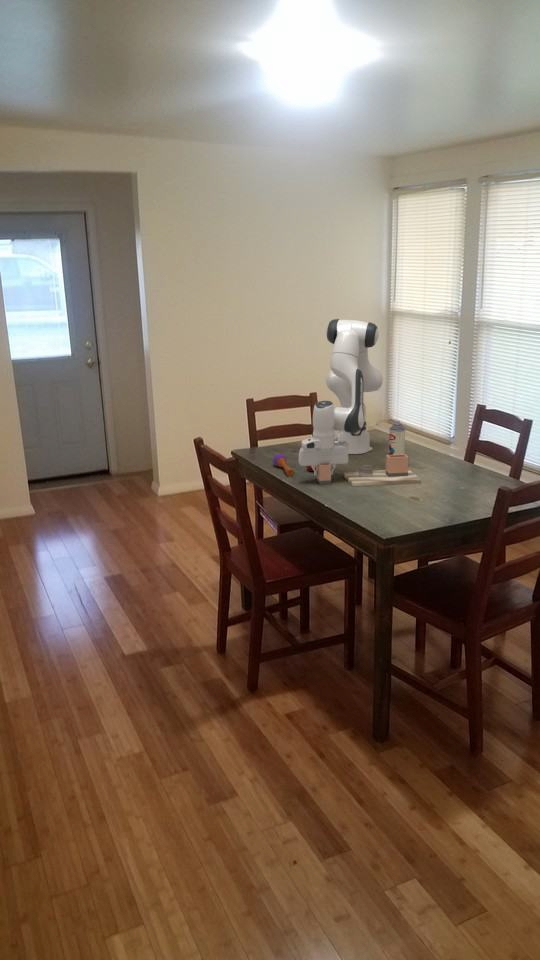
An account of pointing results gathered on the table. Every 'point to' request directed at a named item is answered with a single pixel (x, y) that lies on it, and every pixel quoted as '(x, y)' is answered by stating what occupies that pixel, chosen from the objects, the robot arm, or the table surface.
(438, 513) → the table surface
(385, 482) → the wooden slatted tray
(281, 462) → the kendama
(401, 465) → the seated sleeve
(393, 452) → the aerosol can
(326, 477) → the sleeve
